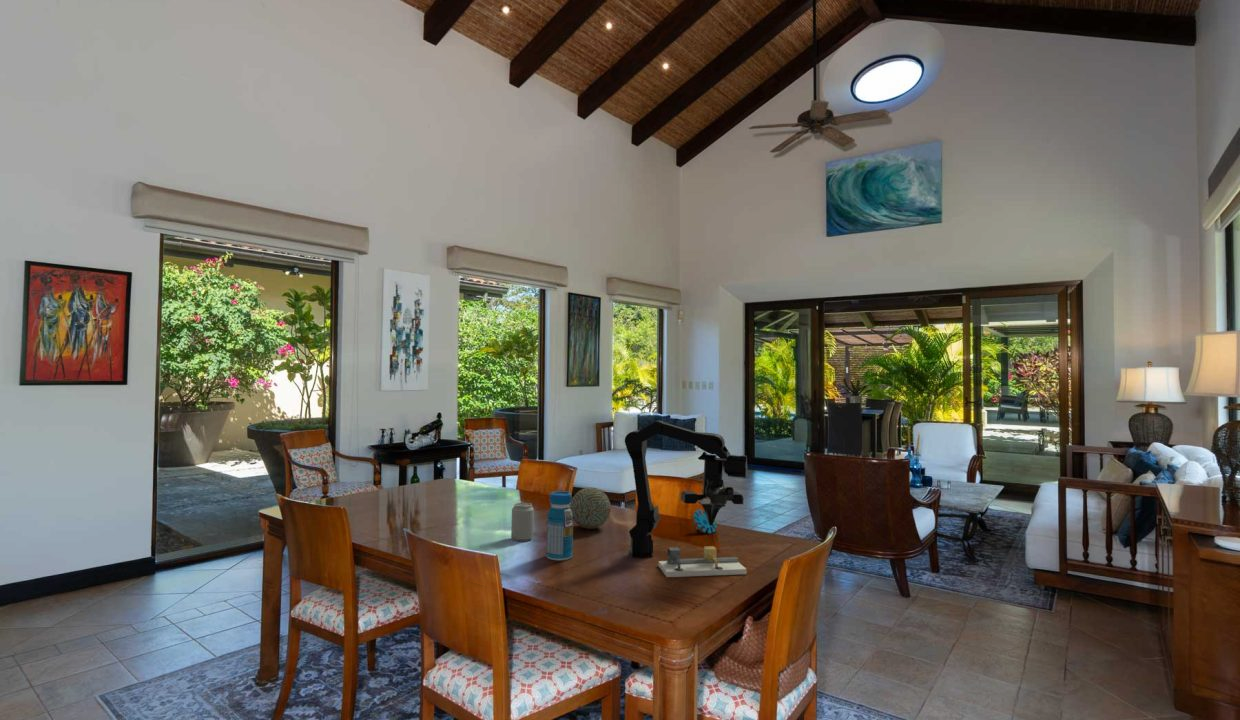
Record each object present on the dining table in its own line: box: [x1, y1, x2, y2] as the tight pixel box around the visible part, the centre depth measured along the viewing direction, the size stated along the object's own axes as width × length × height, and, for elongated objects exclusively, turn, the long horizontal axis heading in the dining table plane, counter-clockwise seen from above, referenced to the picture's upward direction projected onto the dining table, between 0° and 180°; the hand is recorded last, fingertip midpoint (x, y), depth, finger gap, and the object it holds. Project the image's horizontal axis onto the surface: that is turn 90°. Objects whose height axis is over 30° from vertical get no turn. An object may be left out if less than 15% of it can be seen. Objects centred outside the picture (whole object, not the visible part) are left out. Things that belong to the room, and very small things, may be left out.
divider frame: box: [666, 546, 739, 568], centre depth 189 cm, size 22×8×4 cm, turn 100°
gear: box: [692, 509, 718, 535], centre depth 234 cm, size 11×6×10 cm
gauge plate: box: [658, 560, 747, 578], centre depth 189 cm, size 24×10×2 cm, turn 100°
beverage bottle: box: [545, 490, 575, 562], centre depth 198 cm, size 8×8×20 cm
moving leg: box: [703, 545, 718, 567], centre depth 189 cm, size 3×8×4 cm, turn 10°
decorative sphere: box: [569, 486, 611, 530], centre depth 234 cm, size 15×15×15 cm
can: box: [510, 502, 535, 542], centre depth 218 cm, size 8×8×12 cm
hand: (710, 525), depth 197 cm, fingers closed
